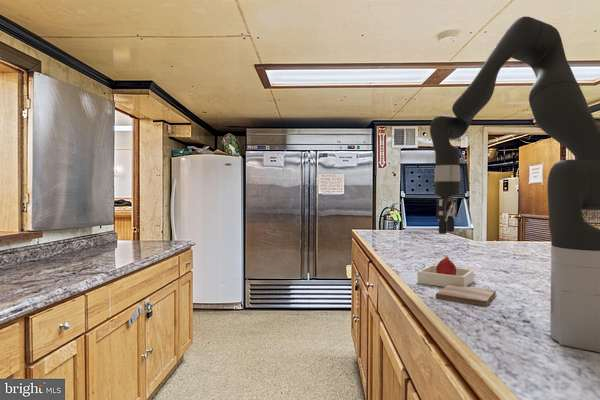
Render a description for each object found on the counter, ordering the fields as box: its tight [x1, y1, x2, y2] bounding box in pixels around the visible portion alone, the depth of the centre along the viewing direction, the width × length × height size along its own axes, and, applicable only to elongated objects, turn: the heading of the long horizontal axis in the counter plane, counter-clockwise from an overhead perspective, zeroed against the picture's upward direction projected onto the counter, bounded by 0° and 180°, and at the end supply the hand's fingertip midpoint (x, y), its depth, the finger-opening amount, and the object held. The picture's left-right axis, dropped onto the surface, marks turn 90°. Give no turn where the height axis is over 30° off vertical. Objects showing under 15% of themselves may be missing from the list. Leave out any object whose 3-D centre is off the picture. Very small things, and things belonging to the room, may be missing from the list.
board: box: [435, 284, 497, 307], centre depth 99 cm, size 13×12×1 cm
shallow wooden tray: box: [416, 264, 475, 288], centre depth 116 cm, size 13×13×4 cm
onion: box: [436, 256, 457, 276], centre depth 116 cm, size 6×6×8 cm
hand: (446, 232), depth 116 cm, fingers open, 8 cm apart
